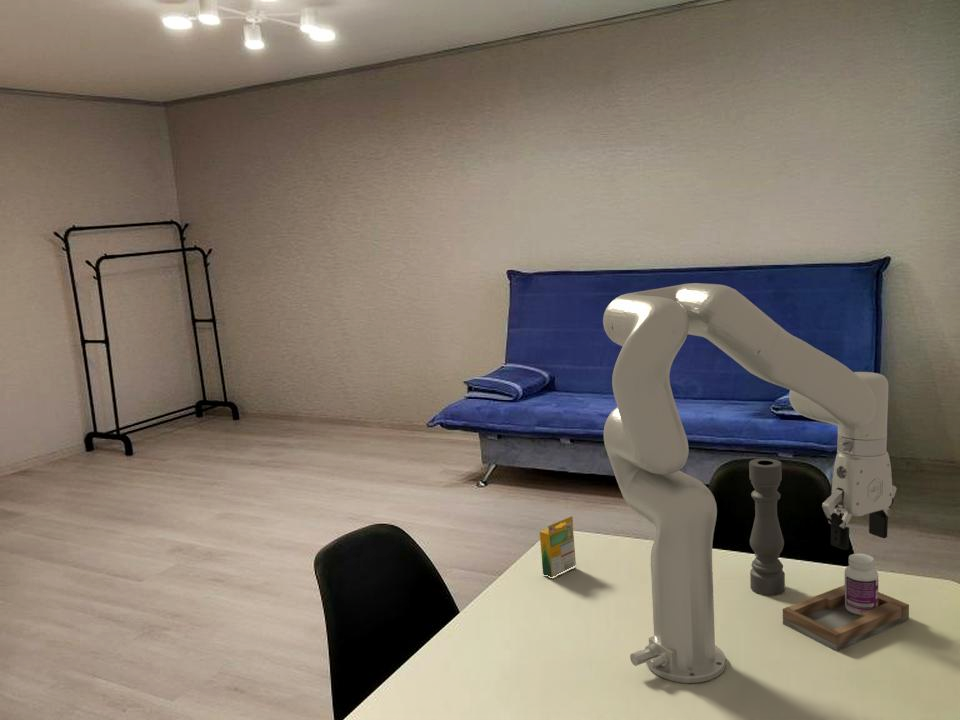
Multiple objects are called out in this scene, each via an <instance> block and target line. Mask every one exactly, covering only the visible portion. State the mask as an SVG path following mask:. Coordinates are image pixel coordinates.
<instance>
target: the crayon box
mask: <svg viewBox="0 0 960 720" xmlns="http://www.w3.org/2000/svg"><path fill="white" fill-rule="evenodd" d="M573 519H574V517H573V515H571V516H569V517H567V518H564V519H562V520H559V521H557V522H554V523H552V524H550V525H548V527H547V528H545V529H543V530H541V531H539V541H540V553H541V566H542V575H543V574H544V575H548V576H550V577H553V576H556V575H557V574H559V573H561V572H563V571H565V570H567V569H569V568H571V567H573V566H575V565H576V566H577V563H576V562H577V561H576V551H575V549H576V547H575V537H574V523H573Z"/></svg>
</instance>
